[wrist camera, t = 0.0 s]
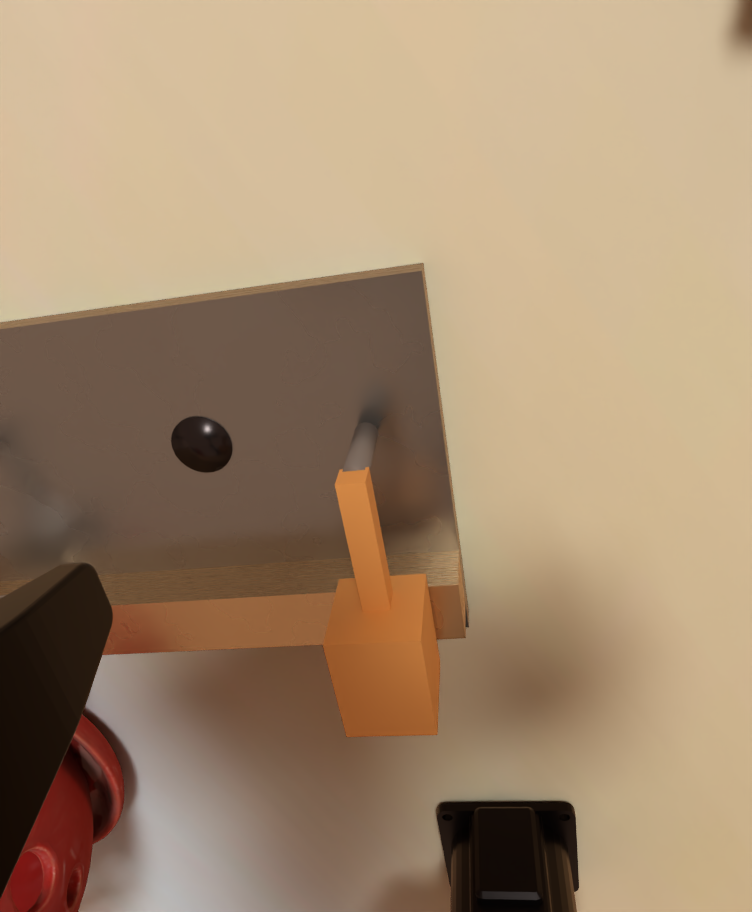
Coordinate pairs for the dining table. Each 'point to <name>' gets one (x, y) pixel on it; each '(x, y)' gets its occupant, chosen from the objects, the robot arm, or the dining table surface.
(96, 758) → the plant pot
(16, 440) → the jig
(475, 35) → the dining table surface
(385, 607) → the orange block with bar
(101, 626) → the robot arm
